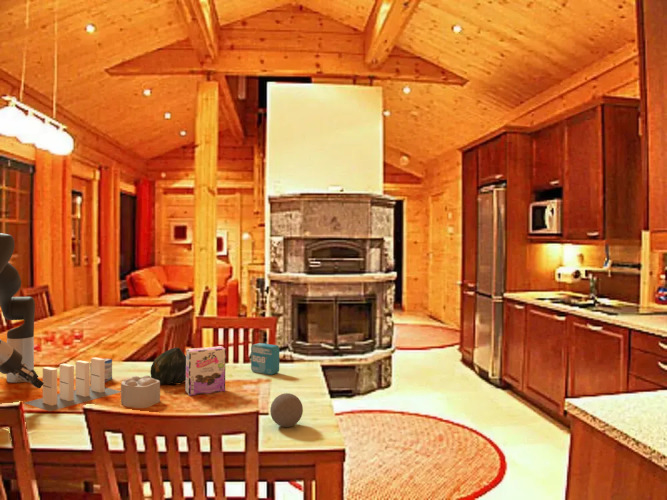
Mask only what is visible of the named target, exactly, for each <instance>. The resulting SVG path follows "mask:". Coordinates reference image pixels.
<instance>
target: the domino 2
mask: <svg viewBox="0 0 667 500" xmlns="http://www.w3.org/2000/svg"><path fill="white" fill-rule="evenodd" d="M74 378H75V366H74V365H73V364H67V363H61V364H59V394H60V399H63V400H67V401H71V400H74V390H75V379H74Z"/></svg>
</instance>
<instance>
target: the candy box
mask: <svg viewBox="0 0 667 500" xmlns="http://www.w3.org/2000/svg"><path fill="white" fill-rule="evenodd" d="M226 352H227V350H226V348H225V347H223V346H221V345H219V346H218V345H217V346H207V347H197V348H195V347H194V348H193V347H192V348H186V349H185V356H186V380H185V391H184V392H185V394H187V395H188V396H197V395H199V396H200V395H205V394H207V395H208V394H215V393H222V392H221V391H224V392H226V354H227V353H226ZM214 392H215V393H214Z"/></svg>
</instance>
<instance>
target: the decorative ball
mask: <svg viewBox="0 0 667 500" xmlns="http://www.w3.org/2000/svg"><path fill="white" fill-rule="evenodd" d="M302 403H303V402H302V401H301V399H299V397H298V396H296V394H295V395H294V394H293V393H287V392H286V393H281V394H279V395H277V396H276V397H275V398H274V399H273V401H272V402H271V405H270V409H269V411H270V416H271V418H272V420H273V422H274V423H275V424H276V425H278V426H280V427H283V428H290V427H293V426H294V425H297V424H298V423H299V421H300V420H301V418H302V416H303V412H304V408H303V404H302Z"/></svg>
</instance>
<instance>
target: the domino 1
mask: <svg viewBox="0 0 667 500" xmlns="http://www.w3.org/2000/svg"><path fill="white" fill-rule="evenodd" d="M42 382H43V383H44V384H43V385H42V398H43V403H45V404H48V405H51V406H52V405H56V404H57V394H58V369H57V368H54V367H50V366H46V367H45V366H44V367H42Z"/></svg>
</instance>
